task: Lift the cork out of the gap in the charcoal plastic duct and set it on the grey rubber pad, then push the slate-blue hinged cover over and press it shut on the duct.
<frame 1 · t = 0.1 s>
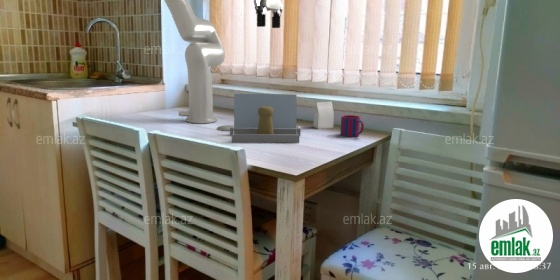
hand: (268, 27, 146), 37 cm above the table, tool pointing down, fingers open, 9 cm apart
cork: (265, 139, 141), on the table
duct: (265, 134, 147), on the table
white printed box: (323, 127, 163), on the table
mug: (352, 136, 147), on the table
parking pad: (230, 128, 157), on the table
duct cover: (265, 111, 147), point 8 cm above the table, hinge at 105.0°
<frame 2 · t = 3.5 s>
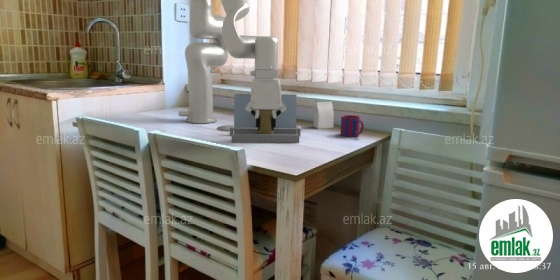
hand: (265, 128, 140), 3 cm above the table, tool pointing down, fingers closed on cork, 3 cm apart
cork: (265, 139, 141), on the table, touching gripper
everything else where it was.
when the fingers open (5 cm above the table, at t = 10.4 s): cork stays where it is, point 1 cm above the table.
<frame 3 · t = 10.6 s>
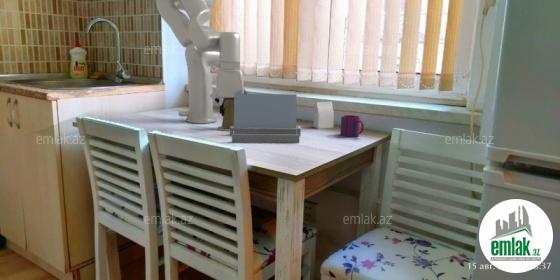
hand: (230, 115, 156), 5 cm above the table, tool pointing down, fingers open, 5 cm apart
cork: (229, 127, 157), point 1 cm above the table, touching gripper
everything else where it was.
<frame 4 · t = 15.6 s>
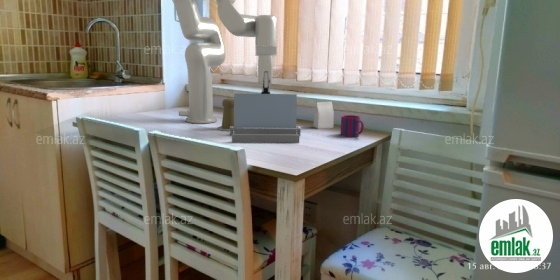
hand: (265, 103, 150), 10 cm above the table, tool pointing down, fingers closed
cork: (229, 128, 157), resting on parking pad
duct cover: (265, 111, 147), point 8 cm above the table, hinge at 102.2°, touching gripper
everything else where it was.
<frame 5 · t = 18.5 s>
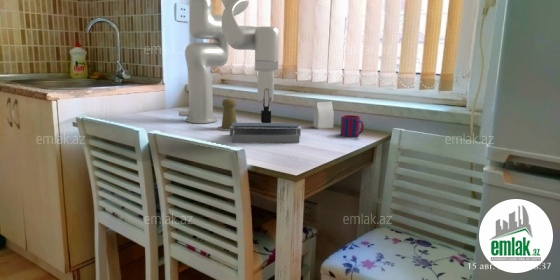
hand: (265, 122, 137), 6 cm above the table, tool pointing down, fingers closed
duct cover: (265, 125, 140), point 4 cm above the table, hinge at 14.1°, touching gripper
everything else where it was.
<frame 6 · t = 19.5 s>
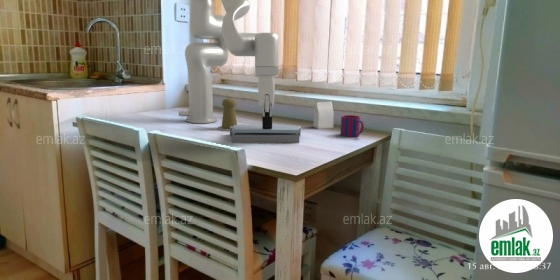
hand: (267, 128, 137), 4 cm above the table, tool pointing down, fingers closed
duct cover: (265, 128, 140), point 3 cm above the table, hinge at 3.6°, touching gripper
everything else where it was.
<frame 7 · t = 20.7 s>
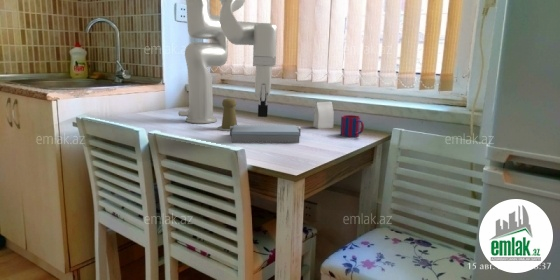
hand: (262, 116, 141), 7 cm above the table, tool pointing down, fingers closed
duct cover: (265, 129, 140), point 3 cm above the table, hinge at 0.6°
everything else where it was.
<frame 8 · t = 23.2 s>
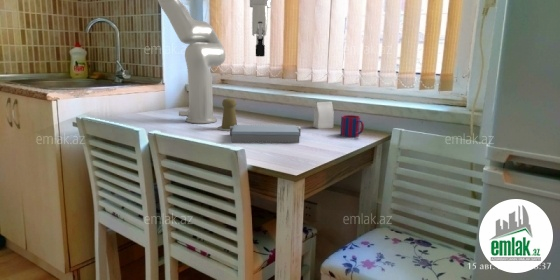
hand: (260, 56, 148), 27 cm above the table, tool pointing down, fingers closed
nothing on the table moved.
at the end: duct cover at +1° (first picture: +105°); cork inside the target area (0.4 cm from its centre), resting on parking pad; cork tilted 0° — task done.
